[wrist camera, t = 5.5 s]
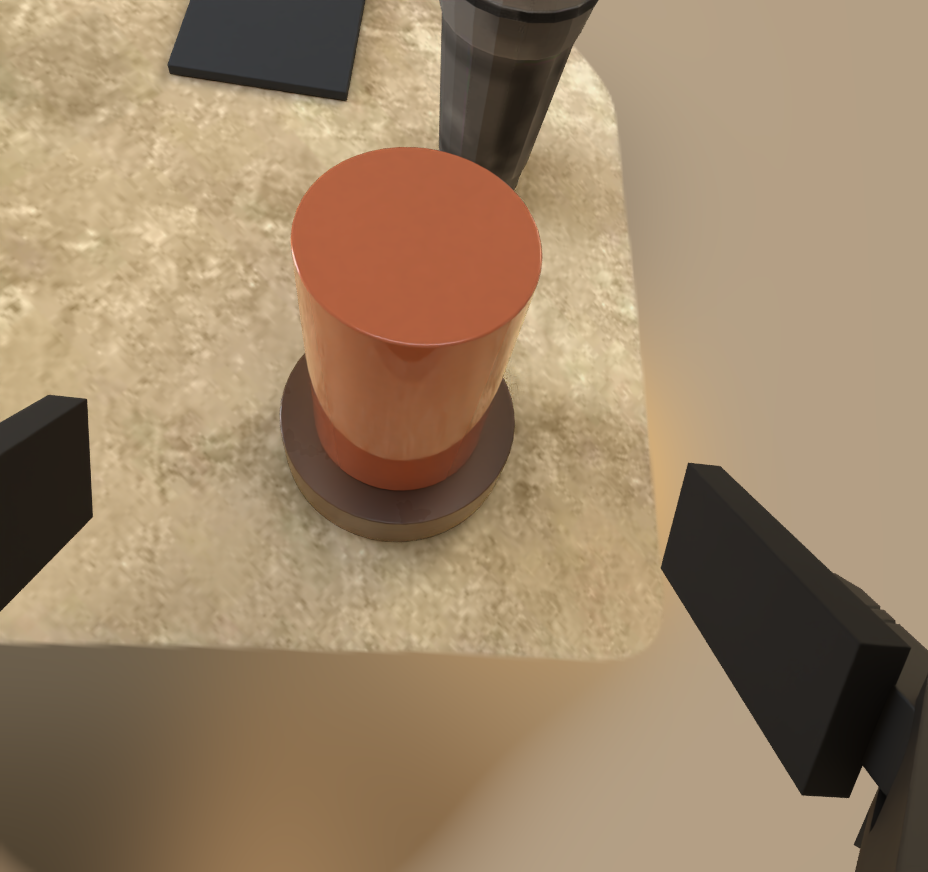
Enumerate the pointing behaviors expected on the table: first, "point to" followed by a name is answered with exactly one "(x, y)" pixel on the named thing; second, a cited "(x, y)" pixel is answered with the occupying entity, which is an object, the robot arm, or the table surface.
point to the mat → (271, 44)
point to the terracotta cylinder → (409, 308)
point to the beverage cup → (502, 75)
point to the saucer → (383, 508)
